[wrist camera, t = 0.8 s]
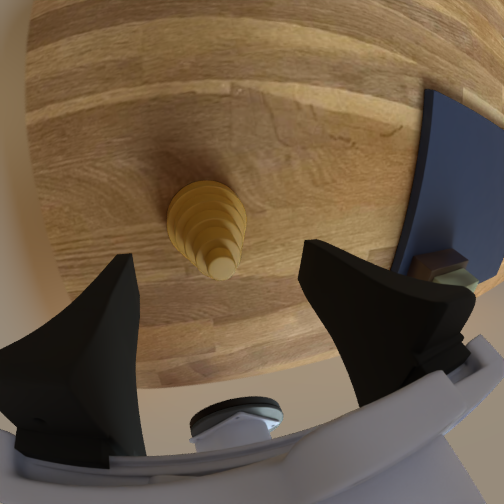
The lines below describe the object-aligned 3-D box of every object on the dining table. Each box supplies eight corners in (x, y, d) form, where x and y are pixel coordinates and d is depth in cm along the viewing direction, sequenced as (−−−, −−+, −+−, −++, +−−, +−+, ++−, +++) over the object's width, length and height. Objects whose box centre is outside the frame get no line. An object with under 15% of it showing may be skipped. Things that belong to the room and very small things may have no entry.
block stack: (390, 315, 25) (419, 348, 21) (412, 255, 22) (451, 286, 17) (431, 300, 27) (458, 327, 23) (452, 247, 23) (485, 272, 19)
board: (373, 317, 26) (378, 324, 25) (424, 88, 15) (433, 89, 14) (492, 272, 33) (496, 275, 33) (527, 149, 22) (531, 151, 22)
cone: (205, 263, 17) (222, 324, 13) (151, 220, 15) (145, 275, 10) (256, 214, 17) (293, 262, 12) (205, 164, 14) (223, 194, 10)
